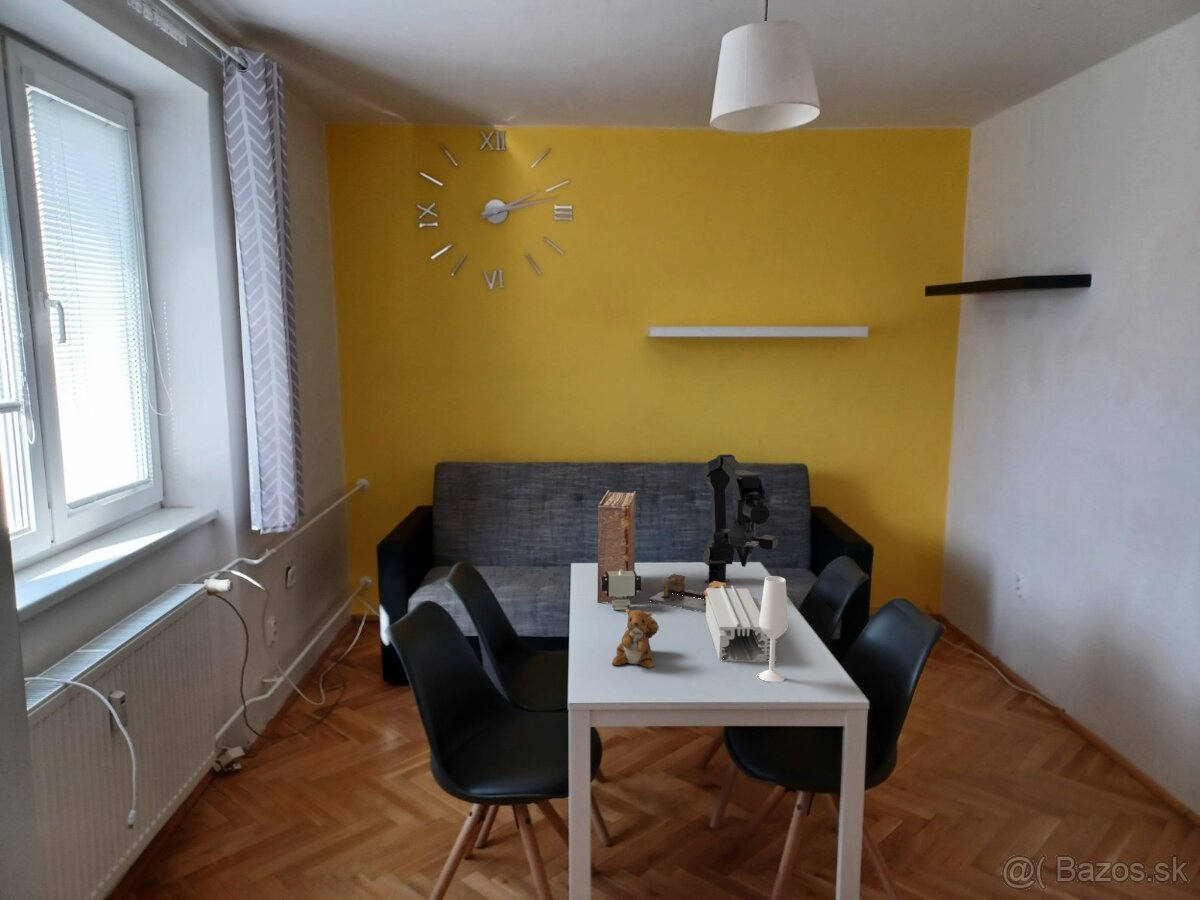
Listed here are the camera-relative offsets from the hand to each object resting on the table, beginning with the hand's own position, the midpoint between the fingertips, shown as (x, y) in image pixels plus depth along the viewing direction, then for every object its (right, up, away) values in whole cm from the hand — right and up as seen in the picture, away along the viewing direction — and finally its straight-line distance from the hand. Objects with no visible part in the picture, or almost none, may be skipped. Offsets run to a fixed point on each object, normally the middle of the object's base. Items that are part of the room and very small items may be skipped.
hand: (743, 566), depth 238 cm
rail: (-10, -11, +5) cm, 15 cm away
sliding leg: (-9, -10, 0) cm, 14 cm away
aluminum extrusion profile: (-6, -16, -26) cm, 31 cm away
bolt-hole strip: (-16, -12, 0) cm, 20 cm away
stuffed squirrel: (-34, -17, -40) cm, 56 cm away
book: (-38, -10, +13) cm, 41 cm away
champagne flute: (-3, -19, -51) cm, 54 cm away
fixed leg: (-21, -9, +7) cm, 24 cm away
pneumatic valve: (-37, -12, -4) cm, 39 cm away
